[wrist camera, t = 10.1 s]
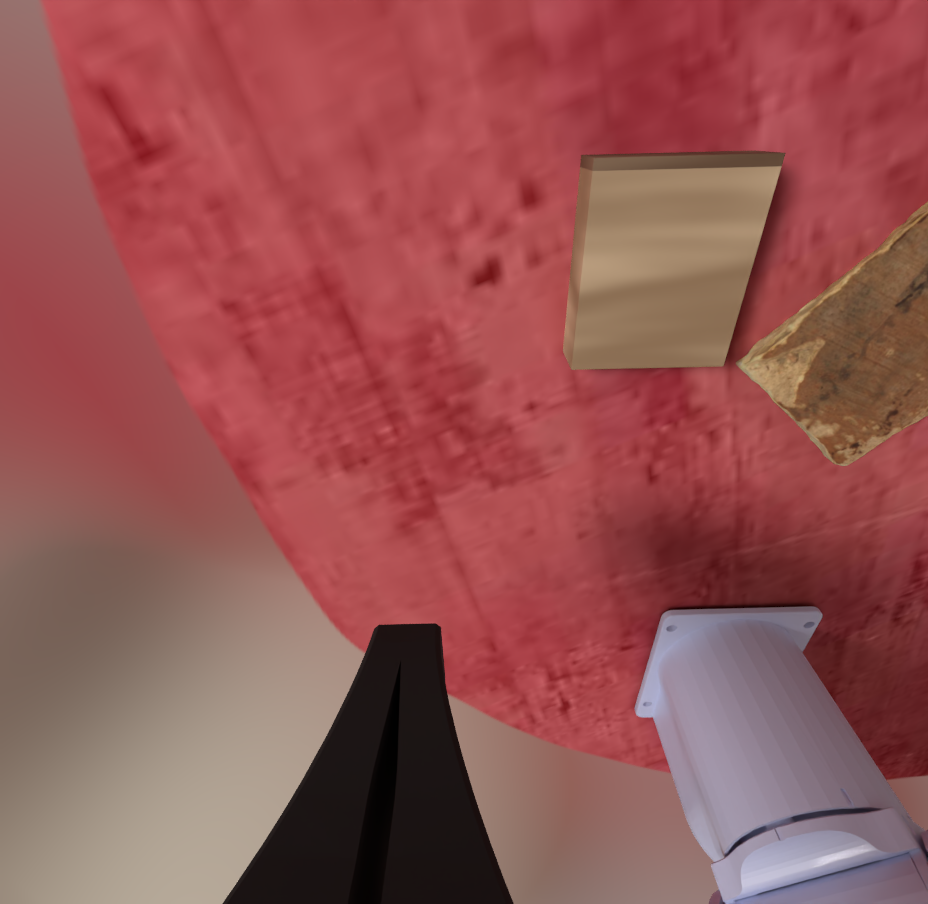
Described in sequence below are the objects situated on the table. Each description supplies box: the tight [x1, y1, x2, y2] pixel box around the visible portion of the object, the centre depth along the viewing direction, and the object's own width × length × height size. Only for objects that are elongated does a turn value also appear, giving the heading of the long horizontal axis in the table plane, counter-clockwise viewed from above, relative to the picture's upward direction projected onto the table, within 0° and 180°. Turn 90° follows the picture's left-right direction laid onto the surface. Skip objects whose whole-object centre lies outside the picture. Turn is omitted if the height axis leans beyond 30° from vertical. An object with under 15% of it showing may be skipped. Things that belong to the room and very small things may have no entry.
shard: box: [736, 202, 928, 466], centre depth 16 cm, size 11×8×2 cm
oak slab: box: [563, 151, 785, 370], centre depth 15 cm, size 2×5×6 cm
